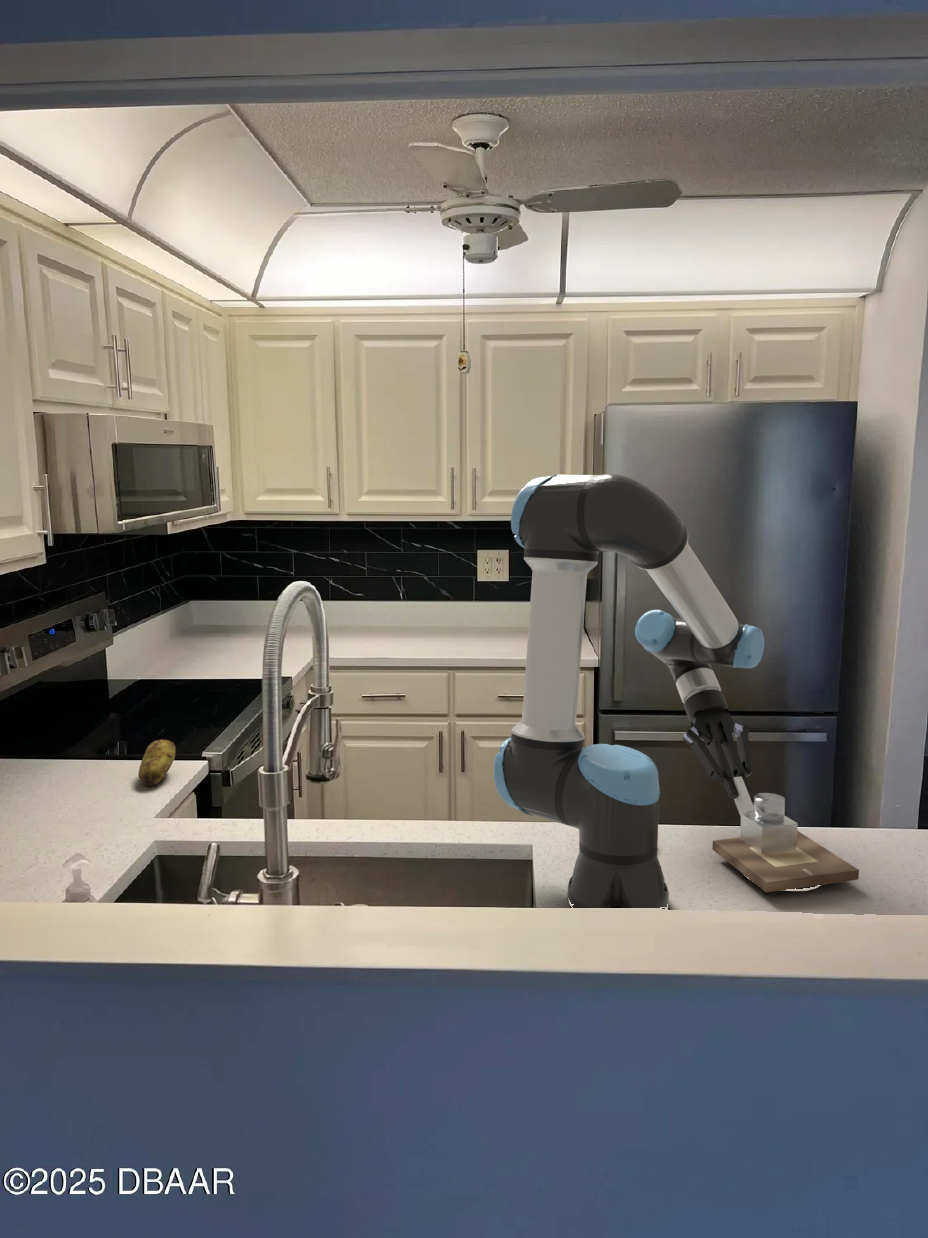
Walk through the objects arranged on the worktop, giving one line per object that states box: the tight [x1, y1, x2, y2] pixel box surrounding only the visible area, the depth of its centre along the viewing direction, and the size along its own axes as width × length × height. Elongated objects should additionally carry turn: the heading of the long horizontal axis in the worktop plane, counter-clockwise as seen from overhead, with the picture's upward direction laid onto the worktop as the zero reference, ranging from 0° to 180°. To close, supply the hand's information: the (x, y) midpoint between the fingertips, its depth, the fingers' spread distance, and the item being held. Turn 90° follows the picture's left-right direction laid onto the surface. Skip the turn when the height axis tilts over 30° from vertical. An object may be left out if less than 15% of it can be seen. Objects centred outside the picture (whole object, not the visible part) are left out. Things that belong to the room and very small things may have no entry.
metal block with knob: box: [739, 792, 798, 854], centre depth 142 cm, size 6×6×8 cm
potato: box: [138, 739, 177, 787], centre depth 190 cm, size 8×13×8 cm, turn 165°
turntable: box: [712, 830, 860, 893], centre depth 139 cm, size 16×16×2 cm
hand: (748, 814), depth 149 cm, fingers closed
